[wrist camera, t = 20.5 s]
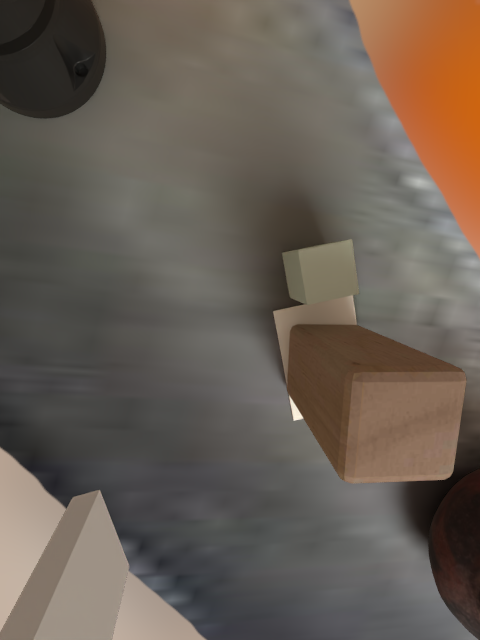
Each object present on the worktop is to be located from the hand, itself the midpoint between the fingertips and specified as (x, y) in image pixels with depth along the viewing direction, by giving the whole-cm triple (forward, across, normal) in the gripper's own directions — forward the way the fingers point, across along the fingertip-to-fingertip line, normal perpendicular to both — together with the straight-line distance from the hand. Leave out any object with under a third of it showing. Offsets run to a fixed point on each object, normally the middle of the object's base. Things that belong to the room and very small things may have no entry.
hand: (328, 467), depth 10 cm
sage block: (+35, +11, +1) cm, 37 cm away
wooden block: (+34, +10, -11) cm, 37 cm away
